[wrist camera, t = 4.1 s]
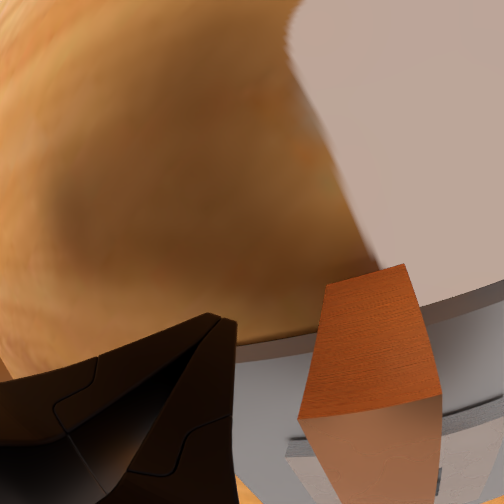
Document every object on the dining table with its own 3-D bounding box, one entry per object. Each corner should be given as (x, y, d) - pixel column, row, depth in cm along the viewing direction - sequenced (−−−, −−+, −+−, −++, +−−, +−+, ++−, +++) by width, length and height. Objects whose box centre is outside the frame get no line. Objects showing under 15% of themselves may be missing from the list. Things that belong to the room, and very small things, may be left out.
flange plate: (477, 487, 11) (480, 549, 6) (333, 511, 15) (319, 571, 10) (513, 228, 7) (612, 316, 2) (218, 310, 10) (139, 416, 6)
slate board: (291, 516, 19) (279, 554, 15) (166, 355, 14) (120, 412, 11) (520, 476, 11) (526, 516, 7) (586, 244, 6) (643, 290, 3)
